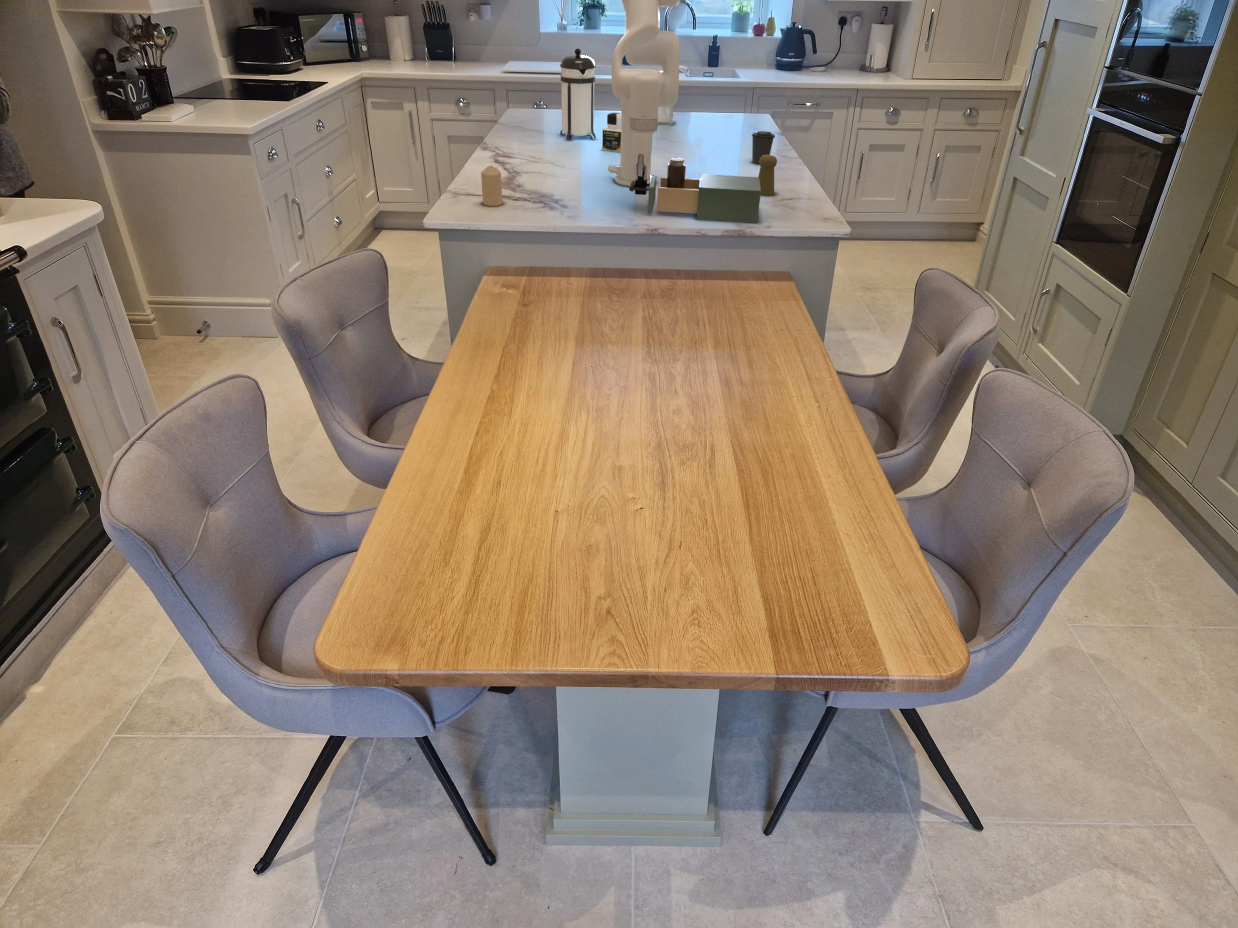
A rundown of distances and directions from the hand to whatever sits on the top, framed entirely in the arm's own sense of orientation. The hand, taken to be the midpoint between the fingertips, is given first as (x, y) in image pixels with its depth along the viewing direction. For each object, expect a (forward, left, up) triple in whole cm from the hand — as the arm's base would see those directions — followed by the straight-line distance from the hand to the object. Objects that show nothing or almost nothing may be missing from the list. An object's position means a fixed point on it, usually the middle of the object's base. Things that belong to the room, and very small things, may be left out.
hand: (640, 194), depth 228 cm
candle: (-39, -15, -4) cm, 42 cm away
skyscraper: (-33, +120, -4) cm, 125 cm away
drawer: (+7, +2, -3) cm, 8 cm away
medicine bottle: (-33, +65, -4) cm, 74 cm away
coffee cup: (+19, +70, -4) cm, 73 cm away
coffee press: (-54, +78, -4) cm, 95 cm away
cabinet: (+24, +6, -4) cm, 25 cm away
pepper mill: (+9, +3, -2) cm, 10 cm away
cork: (+29, +32, -4) cm, 43 cm away
